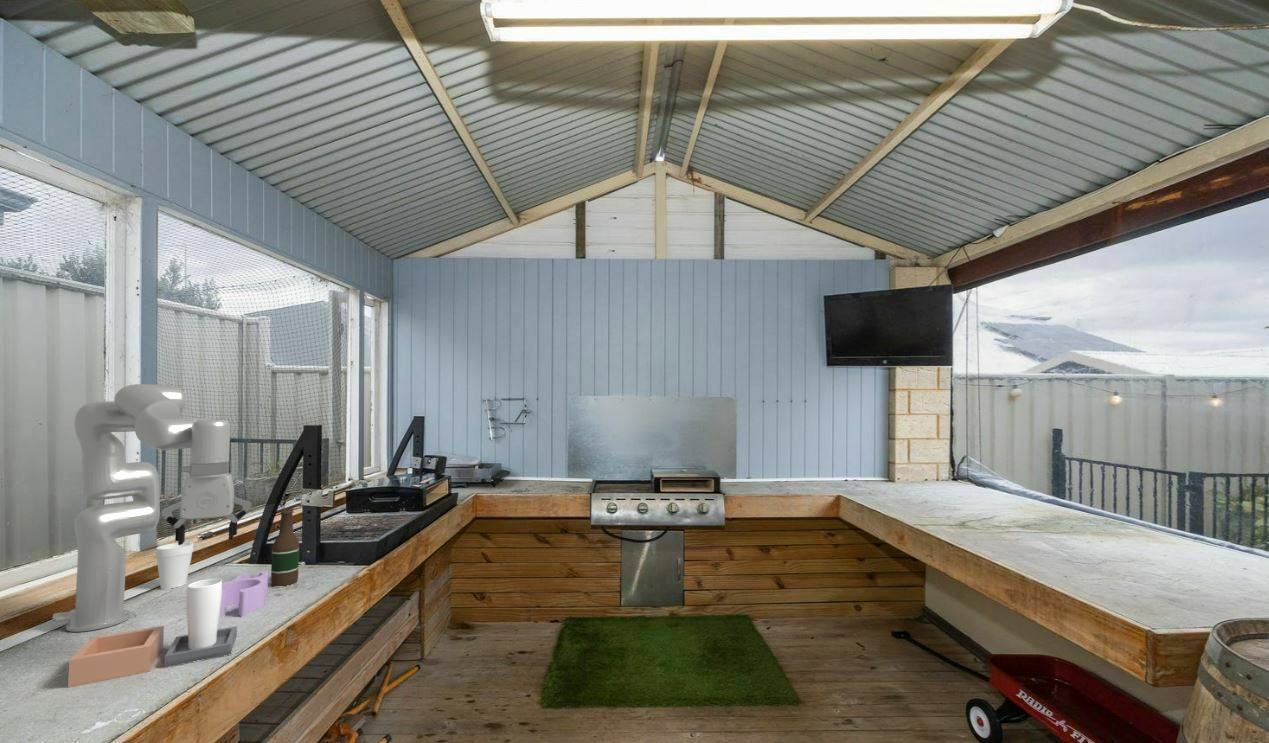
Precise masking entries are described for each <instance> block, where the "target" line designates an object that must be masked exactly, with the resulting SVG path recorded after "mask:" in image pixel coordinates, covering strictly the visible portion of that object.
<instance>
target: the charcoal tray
mask: <svg viewBox="0 0 1269 743" xmlns="http://www.w3.org/2000/svg"><path fill="white" fill-rule="evenodd" d="M237 628H238V626H230V627H224V628H219V629H217V641H216V643H215V645H213V646H210V647H204V648H199V649H193V650H190V649H189V648H188V641H189V640H188V634H184V635H179V636H175V638H174V640H173V642H172V643H171V645H170V647H169V649H168V651H167V652H166V654H165V656H164V668H165V667H166V668H169V667H168V666H171V667H174V666H173V665H176V666H178V665H177V664H181V665H183V664H182V663H186V664H189V663H188V662H191V663H194V662H193V661H197V660H202V659H207V658H212V659H214V658H213V657H217V658H219V657H218V656H222V657H225V656H224V655H227V656H230V655H229V654H232V652H233V649H232V648H234V646H233V645H235V642H236V640H237V634H238V633H237V631H238V630H237ZM231 651H232V652H231ZM207 660H208V659H207ZM202 661H203V660H202ZM197 662H198V661H197Z"/></svg>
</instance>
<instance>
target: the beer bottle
mask: <svg viewBox="0 0 1269 743" xmlns="http://www.w3.org/2000/svg"><path fill="white" fill-rule="evenodd" d="M293 513H294V510H293V509H291V508H287V509H282V510H280V517H281V518H280V525H279V531H278V535H277V537H276V538H275V540H274V542H273V544H272V548H271V564H270V565H271V566H270V567H271V568H270V569H271V570H270V571H271V572H270V585H272V586H271V587H274V586H284V587H288V586H287V585H289V586H292V585H291V584H293V585H295V584H294V583H296V584H297V582H298V580H299V569H300V568H299V565H300V563H299V562H300V541H299V538H298V537H297V536H296V533H295V532H294V522H293V521H294V520H293Z"/></svg>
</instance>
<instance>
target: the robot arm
mask: <svg viewBox="0 0 1269 743" xmlns="http://www.w3.org/2000/svg"><path fill="white" fill-rule="evenodd" d="M186 402H187V398H186V395H185V393H184V391H183V390H182V389H181V388H180V387H178V386H176V385H172V384H171V385H170V384H149V383H146V384H145V383H141V384H140V383H136V384H130V385H127V386H124V387H122V388H120V389H119V390H118V391H116V393H115V395H114V401H112V400H111V401H95V402H90V403H87V404H84V405H82V406H81V407H79V409H78V410H77V411H76V414H75V417H74V430H75V434H76V438H77V439H78V443H79V445H80V447H81V453H82V454H81V455H82V456H81V458H82V459H81V460H82V461H81V469H82V470H81V472H82V473H81V475H82V476H81V479H82V480H81V483H82V486H81V487H82V493H83V495H84V497H85V498H86V499H88V500H92V501H102V500H111V499H119V498H126V497H127V498H128V497H132V500H129V501H122V502H114V503H106V504H99V505H96V506H95V505H94V506H91V507H88V508H85V509H83V510H82V511H80V512H78V514H77V516H76V517H75V518H74V523H73V524H74V526H73V527H74V532H75V534H74V535H75V538H76V545H77V546H76V547H77V562H76V563H77V565H76V566H77V567H76V568H77V569H76V570H77V571H76V584H75V586H76V588H75V589H76V590H75V604H74V606H75V608H74V609H71V610H69V611H67V612H62V611H61V612H57V613H53V615H52V621H53V622H55V623H61V622H66V621H67V622H68V623H66V625H65V630H66V631H68V632H72V633H77V632H89V631H96V630H99V629H100V630H101V629H106V628H108V627H112V626H116V625H118V624H120V623H123V622H125V621H128V619H130V618H131V616H132V611H130V610H129V609H125V591H126V590H125V589H126V588H125V587H126V567H127V553H126V551H125V549H124V548H123V547H122V546H121V544H119V543H118V542H117V541H116V539H120V538H122V537H123V538H124V537H128V536H133V535H139V534H145V533H148V532H151V531H153V530H154V529H155V528H156V527H157V526H158V525H159V524H158V523H159V522H160V515H161V514H162V516H163V517H164V519H165V520H166V523H169V524H170V525H171V526H172V527H173V528H175V533H174V535H175V537H174V539H175V540H174V541H175V542H177V543H178V545H182V544H183V543H184V542H186V541H185V538H186V532H185V531H186V526H185V525H184V523H186V522H187V521H191V520H193V521H194V520H203V519H205V520H206V519H212V518H213V519H215V518H222V517H223V518H224V517H226V518H227V519H228V520H229V521H230V522H229V524H228V525H229V526H228V540H231V541H232V540H233V539H234V537H235V536H237V533H238V522H239V520H241V519H242V518H243V517H245V515H246V514H247V513H248V511H249V510H250V508H251V506H252V502H250V501H249V500H246V499H243V498H239V497H238V496H237V497H236V496H235V487H234V479H233V475H232V474H231V473H230V472H229V471H230V470H229V469H230V449H231V448H230V447H231V446H230V445H231V444H230V443H231V422H230V421H228V420H227V419H219V418H218V419H217V418H216V419H215V418H210V417H188V418H187V417H186V418H185V417H183V418H181V417H180V414H181V412H182V411H183V410H184V409H185V406H186ZM127 432H130V433H131V432H132V433H133V432H134V433H135V435H136V438H137V439H138V440H139V441H140V442H141V443H143V444H144V445H146V446H147V447H149V448H151V449H154V450H159V451H171V450H181V449H182V450H183V449H190V458H189V459H190V460H189V461H190V462H189V464H188V465H186V466H185V465H184V466H182V468H181V472H182V473H187V474H188V475H189V476H185V479H184V481H183V485H182V490H181V497H180V501H178V502H176V503H174V504H172V505H170V506H168V507H166V508H163V509H162V510H161V506H160V504H161V503H160V502H161V501H160V500H161V498H160V496H161V495H160V494H161V493H160V491H161V490H160V475H159V472H158V470H157V468H156V467H155V465H154V464H153V463H150V462H147V461H136V462H126V455H125V454H126V448H125V445H124V443H123V442H122V441H121V440H120V439H119V438H118V437H117V436H116V435H115V434H114V433H127ZM235 504H236V505H239V506H241V507H242V509H241V510H240V512H238V513H237V514H236V513H235V511H234V509H235ZM178 509H179V517H180V518H179V519H178V518H177V517H175V516H173V514H172V512H173V511H175V510H178ZM160 511H161V512H160Z"/></svg>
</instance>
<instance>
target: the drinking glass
mask: <svg viewBox="0 0 1269 743" xmlns="http://www.w3.org/2000/svg"><path fill="white" fill-rule="evenodd" d="M222 584H223V580H222V579H221V578H209V579H208V578H207V579H202V580H197V581H193V582H192V583H189V584H188V585H187V588H186V597H185V598H186V602H185V603H186V606H185V607H186V617H187V618H186V622H187V635H188V640H189V641H188V648H189V649H190V650H193V649H199V648H204V647H210V646H213V645H215V643H216V641H217V630H218V628H219V622H220V619H219V614H220V607H221V600H222Z"/></svg>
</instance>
